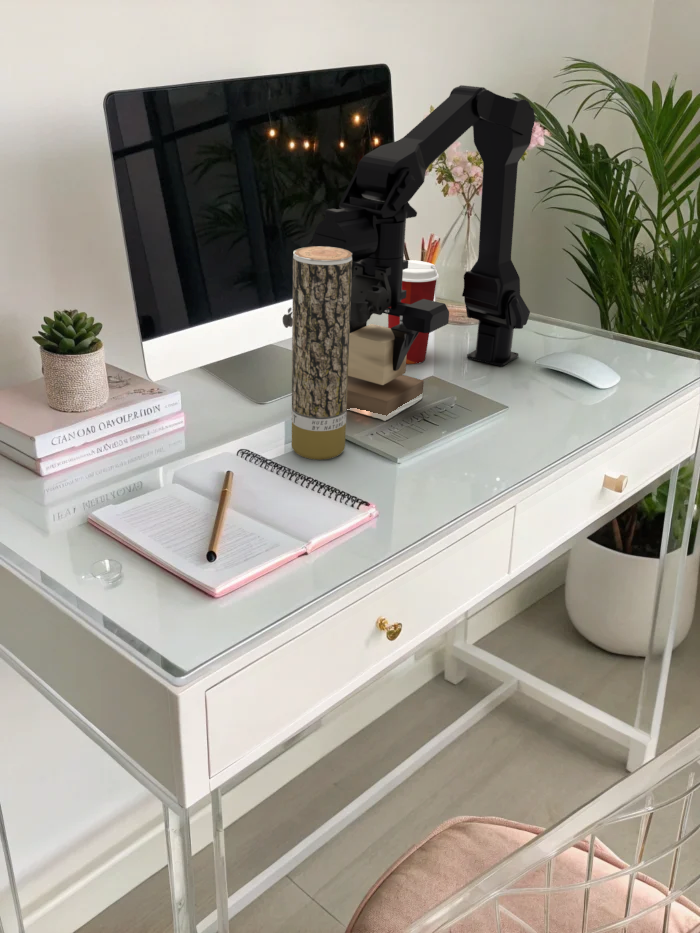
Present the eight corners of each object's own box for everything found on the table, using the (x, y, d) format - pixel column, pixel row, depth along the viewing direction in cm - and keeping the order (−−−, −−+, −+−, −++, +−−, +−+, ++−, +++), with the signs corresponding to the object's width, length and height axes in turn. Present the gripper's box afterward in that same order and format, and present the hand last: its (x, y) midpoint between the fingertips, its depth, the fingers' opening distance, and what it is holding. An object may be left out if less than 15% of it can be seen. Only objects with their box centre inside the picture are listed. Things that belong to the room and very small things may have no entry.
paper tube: (352, 444, 118) (360, 250, 107) (334, 466, 112) (340, 263, 101) (303, 435, 120) (306, 243, 109) (282, 456, 114) (283, 256, 103)
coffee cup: (432, 351, 152) (440, 261, 145) (431, 368, 145) (439, 274, 138) (382, 347, 152) (387, 257, 146) (378, 364, 145) (383, 270, 138)
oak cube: (369, 363, 133) (371, 323, 130) (405, 372, 130) (408, 332, 127) (346, 375, 129) (347, 334, 126) (382, 385, 126) (385, 343, 123)
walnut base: (364, 383, 137) (365, 364, 136) (422, 399, 133) (423, 380, 131) (325, 403, 130) (326, 384, 129) (385, 421, 125) (387, 401, 124)
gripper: (289, 253, 120) (288, 365, 127) (412, 278, 111) (404, 398, 118) (337, 239, 129) (334, 345, 136) (455, 261, 120) (445, 374, 127)
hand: (376, 365), depth 129 cm, fingers closed on oak cube, 6 cm apart
